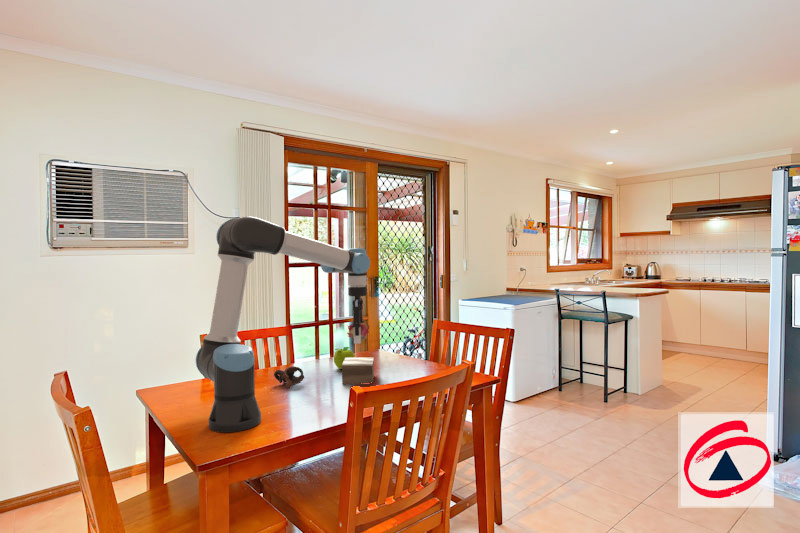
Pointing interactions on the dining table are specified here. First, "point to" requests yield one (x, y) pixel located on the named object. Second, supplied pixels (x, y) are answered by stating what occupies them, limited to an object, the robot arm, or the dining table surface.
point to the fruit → (342, 356)
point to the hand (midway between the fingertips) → (358, 341)
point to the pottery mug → (289, 376)
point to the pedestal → (358, 370)
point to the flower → (363, 331)
